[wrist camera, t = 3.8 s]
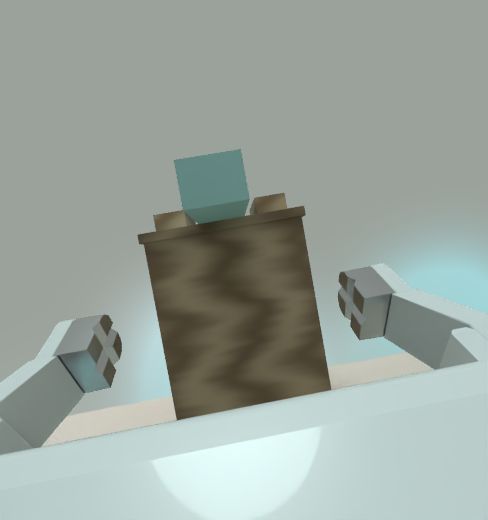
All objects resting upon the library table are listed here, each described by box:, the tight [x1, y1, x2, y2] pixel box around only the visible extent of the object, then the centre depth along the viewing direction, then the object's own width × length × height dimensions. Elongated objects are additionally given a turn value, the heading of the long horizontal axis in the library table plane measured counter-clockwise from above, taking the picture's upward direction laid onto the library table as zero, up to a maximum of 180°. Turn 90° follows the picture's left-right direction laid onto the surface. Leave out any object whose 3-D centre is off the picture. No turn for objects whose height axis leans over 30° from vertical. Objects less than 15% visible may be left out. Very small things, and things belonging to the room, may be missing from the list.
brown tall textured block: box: [138, 193, 331, 420], centre depth 32 cm, size 15×15×28 cm
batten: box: [174, 149, 249, 224], centre depth 27 cm, size 4×20×3 cm, turn 2°
